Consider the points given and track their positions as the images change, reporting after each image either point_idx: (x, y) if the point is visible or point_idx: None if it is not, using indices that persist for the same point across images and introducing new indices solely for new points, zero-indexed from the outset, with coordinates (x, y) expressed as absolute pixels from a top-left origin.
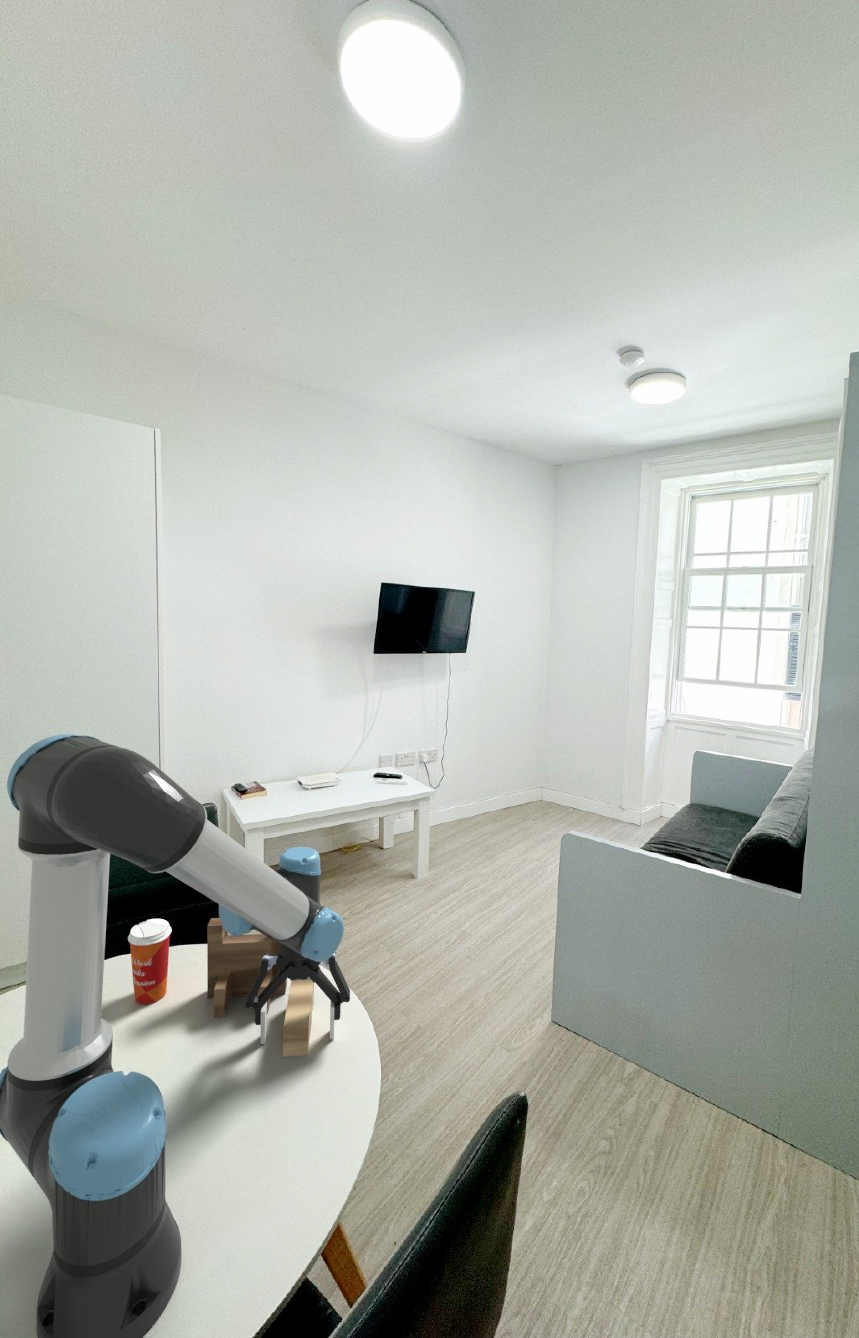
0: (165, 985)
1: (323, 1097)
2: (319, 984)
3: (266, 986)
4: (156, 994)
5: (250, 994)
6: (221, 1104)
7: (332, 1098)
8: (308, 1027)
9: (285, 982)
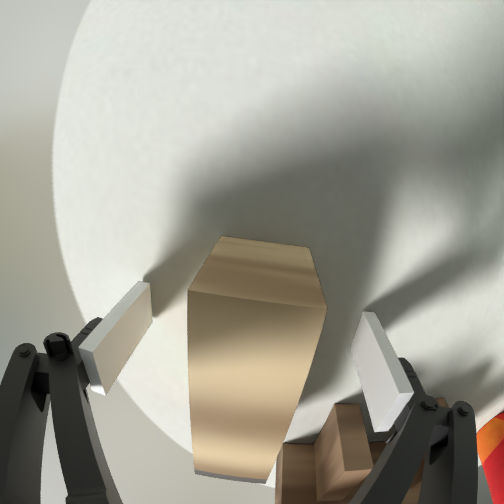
0: (485, 441)
1: (176, 48)
2: (87, 466)
3: (348, 471)
4: (499, 426)
5: (474, 448)
6: (475, 112)
7: (150, 45)
8: (193, 286)
9: (281, 466)
